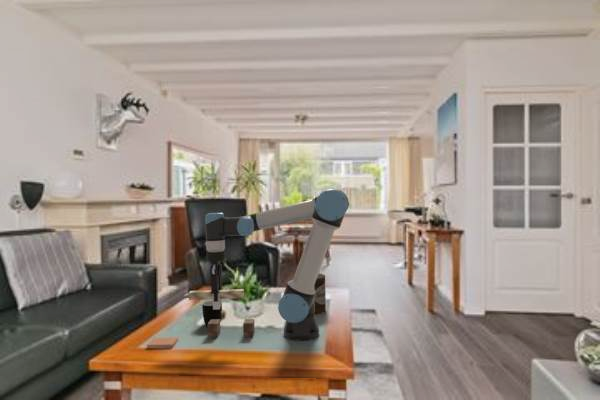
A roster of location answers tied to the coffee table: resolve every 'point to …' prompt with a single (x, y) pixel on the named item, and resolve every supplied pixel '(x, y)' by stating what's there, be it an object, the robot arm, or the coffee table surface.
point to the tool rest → (215, 328)
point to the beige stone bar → (207, 295)
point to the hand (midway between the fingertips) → (217, 307)
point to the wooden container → (320, 294)
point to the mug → (210, 312)
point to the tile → (163, 342)
